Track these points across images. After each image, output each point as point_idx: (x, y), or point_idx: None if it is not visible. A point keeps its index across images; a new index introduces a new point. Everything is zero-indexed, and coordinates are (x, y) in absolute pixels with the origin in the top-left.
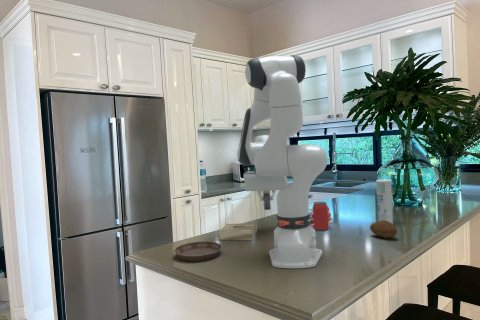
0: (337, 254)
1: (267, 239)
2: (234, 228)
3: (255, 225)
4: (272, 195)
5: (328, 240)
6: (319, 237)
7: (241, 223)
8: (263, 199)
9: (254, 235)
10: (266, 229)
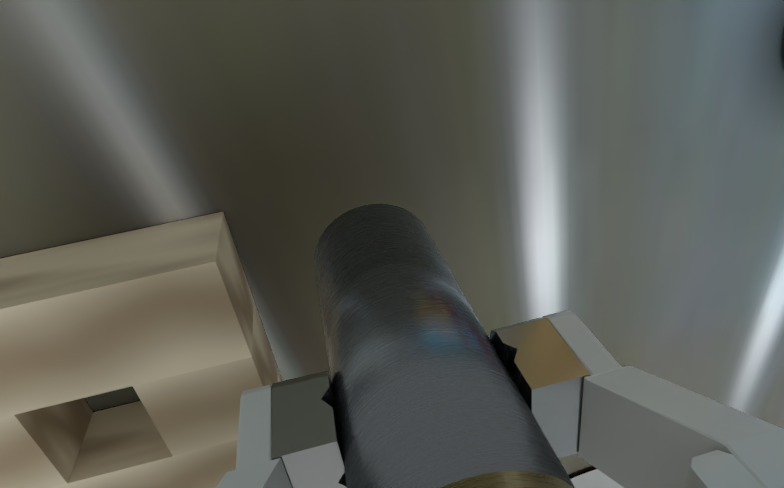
0: None
1: None
2: (96, 484)
3: (239, 317)
4: (622, 470)
5: (780, 321)
6: (750, 275)
7: (16, 313)
8: None
9: (267, 341)
10: (292, 101)
